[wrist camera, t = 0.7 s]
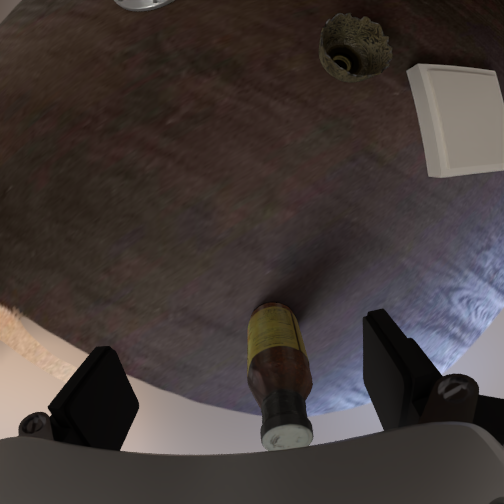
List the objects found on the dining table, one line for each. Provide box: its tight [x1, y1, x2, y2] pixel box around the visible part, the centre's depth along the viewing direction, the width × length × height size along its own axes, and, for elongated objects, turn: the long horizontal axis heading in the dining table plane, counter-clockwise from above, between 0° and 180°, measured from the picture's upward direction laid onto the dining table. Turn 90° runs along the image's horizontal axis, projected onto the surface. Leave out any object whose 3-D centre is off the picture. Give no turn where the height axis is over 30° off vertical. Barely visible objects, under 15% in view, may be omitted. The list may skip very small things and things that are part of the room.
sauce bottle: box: [247, 302, 313, 451], centre depth 30 cm, size 7×6×20 cm
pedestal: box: [406, 64, 504, 178], centre depth 30 cm, size 14×14×4 cm
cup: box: [319, 13, 393, 82], centre depth 27 cm, size 8×7×8 cm
